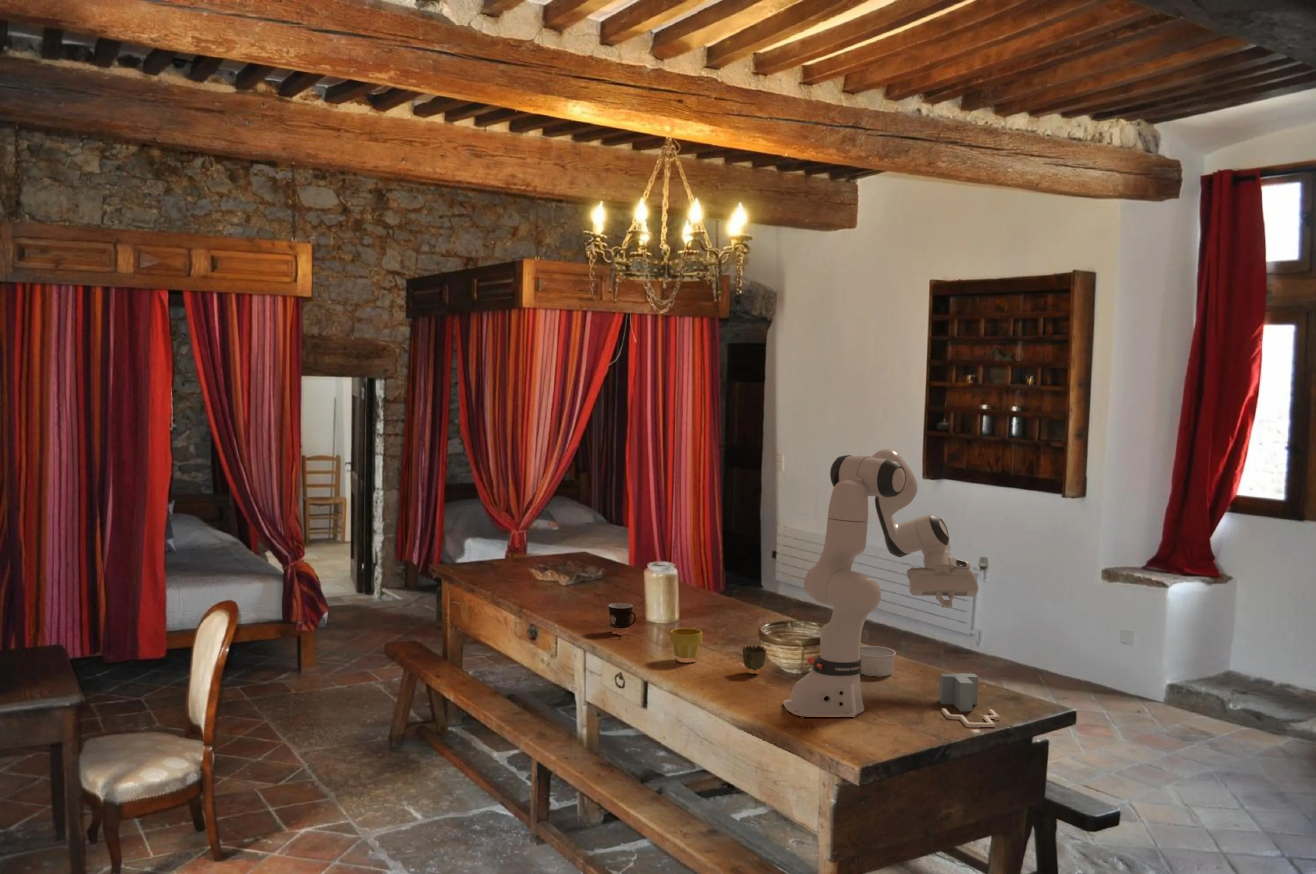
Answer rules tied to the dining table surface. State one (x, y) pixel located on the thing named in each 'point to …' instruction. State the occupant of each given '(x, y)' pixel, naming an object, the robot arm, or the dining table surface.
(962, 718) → the t outline
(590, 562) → the dining table surface
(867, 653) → the ramekin
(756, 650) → the cup
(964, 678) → the t block
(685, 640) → the plant pot
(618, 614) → the coffee mug
